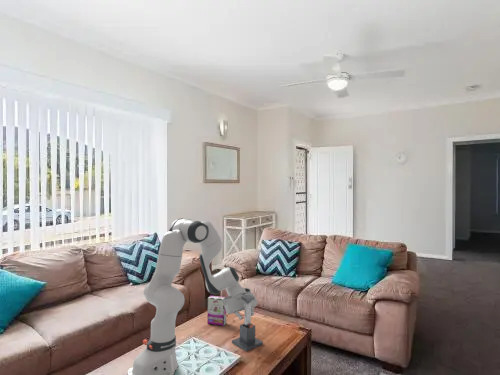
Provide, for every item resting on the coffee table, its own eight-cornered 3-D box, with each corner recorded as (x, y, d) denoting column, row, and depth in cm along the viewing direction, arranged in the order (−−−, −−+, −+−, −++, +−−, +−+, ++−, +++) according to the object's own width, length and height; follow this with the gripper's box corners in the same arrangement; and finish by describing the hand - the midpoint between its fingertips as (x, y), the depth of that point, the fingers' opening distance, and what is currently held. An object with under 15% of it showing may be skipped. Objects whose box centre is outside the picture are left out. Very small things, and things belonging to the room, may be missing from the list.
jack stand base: (245, 351, 168) (246, 330, 168) (231, 342, 177) (232, 323, 177) (262, 344, 176) (263, 324, 176) (248, 336, 185) (248, 317, 185)
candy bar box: (226, 323, 203) (227, 296, 203) (223, 326, 198) (224, 299, 198) (210, 320, 206) (210, 295, 206) (207, 323, 202) (207, 297, 202)
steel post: (246, 343, 173) (247, 298, 173) (240, 339, 177) (241, 296, 177) (253, 340, 176) (254, 296, 176) (247, 337, 180) (248, 294, 180)
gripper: (223, 295, 176) (234, 319, 169) (252, 288, 189) (263, 309, 182) (219, 301, 179) (229, 324, 172) (247, 293, 193) (258, 315, 185)
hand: (247, 317), depth 177 cm, fingers open, 7 cm apart
